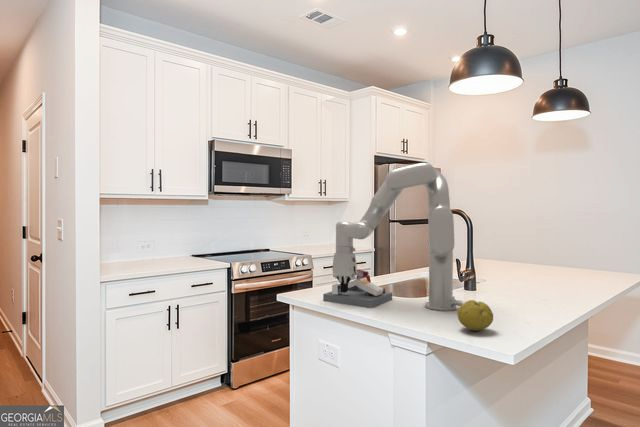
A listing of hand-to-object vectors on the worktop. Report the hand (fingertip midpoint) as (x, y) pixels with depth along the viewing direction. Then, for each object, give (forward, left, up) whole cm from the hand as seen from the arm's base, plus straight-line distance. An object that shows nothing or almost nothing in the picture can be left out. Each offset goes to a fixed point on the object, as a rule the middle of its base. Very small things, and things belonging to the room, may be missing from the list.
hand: (344, 291), depth 184 cm
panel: (-3, -7, -4) cm, 9 cm away
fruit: (-58, +12, -5) cm, 59 cm away
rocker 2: (-9, -7, +1) cm, 11 cm away
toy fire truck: (+4, -25, -5) cm, 26 cm away
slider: (+4, 0, -1) cm, 4 cm away
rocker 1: (+2, -13, +1) cm, 13 cm away
